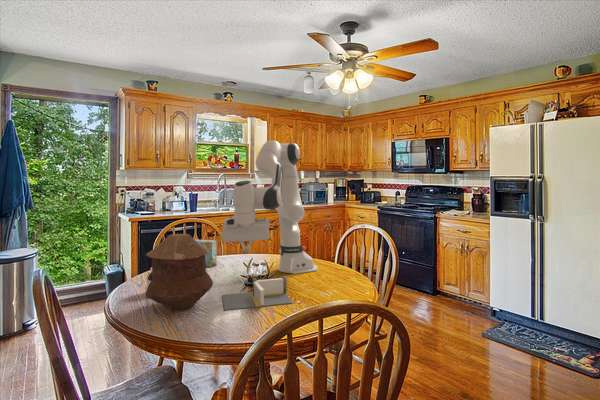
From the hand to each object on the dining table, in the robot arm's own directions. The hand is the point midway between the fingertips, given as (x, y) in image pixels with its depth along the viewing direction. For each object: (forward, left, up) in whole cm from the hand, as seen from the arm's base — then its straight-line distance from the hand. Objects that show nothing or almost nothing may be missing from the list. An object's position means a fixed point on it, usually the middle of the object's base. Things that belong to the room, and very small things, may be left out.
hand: (246, 251), depth 151 cm
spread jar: (+37, -23, -22) cm, 49 cm away
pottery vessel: (+27, 0, -22) cm, 35 cm away
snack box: (+20, -67, -22) cm, 73 cm away
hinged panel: (-4, +3, -21) cm, 21 cm away
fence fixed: (-11, -4, -21) cm, 24 cm away
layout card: (-4, 0, -22) cm, 22 cm away
